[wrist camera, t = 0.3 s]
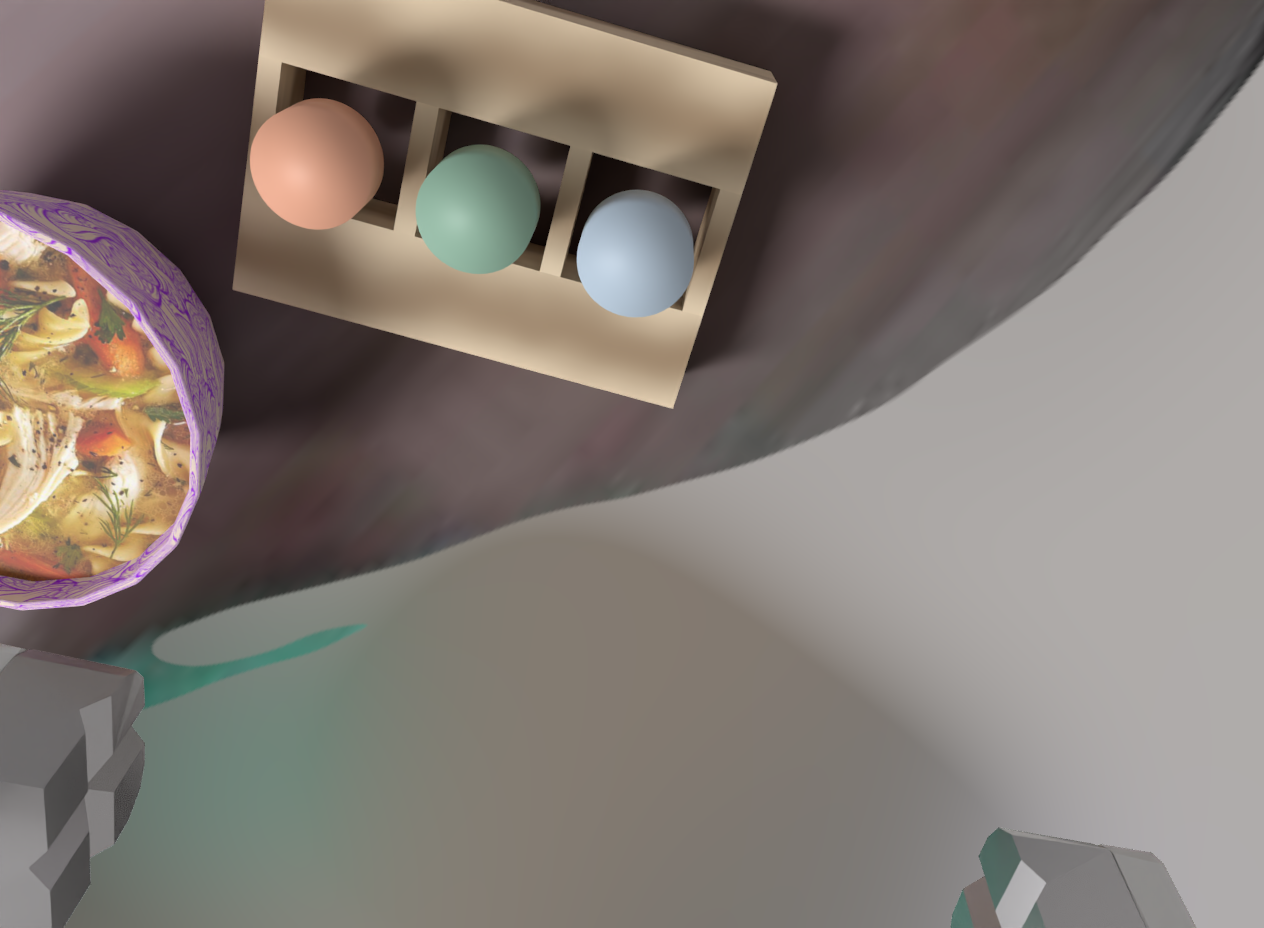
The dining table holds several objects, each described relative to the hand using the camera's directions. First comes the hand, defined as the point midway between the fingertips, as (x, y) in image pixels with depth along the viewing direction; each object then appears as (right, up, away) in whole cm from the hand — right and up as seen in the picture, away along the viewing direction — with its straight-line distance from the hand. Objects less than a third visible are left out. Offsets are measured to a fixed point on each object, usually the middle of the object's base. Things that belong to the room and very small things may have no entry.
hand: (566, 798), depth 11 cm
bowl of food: (-28, +10, +48) cm, 56 cm away
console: (-6, +17, +43) cm, 47 cm away
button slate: (+1, +14, +42) cm, 44 cm away
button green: (-6, +16, +41) cm, 45 cm away
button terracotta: (-13, +18, +40) cm, 46 cm away
